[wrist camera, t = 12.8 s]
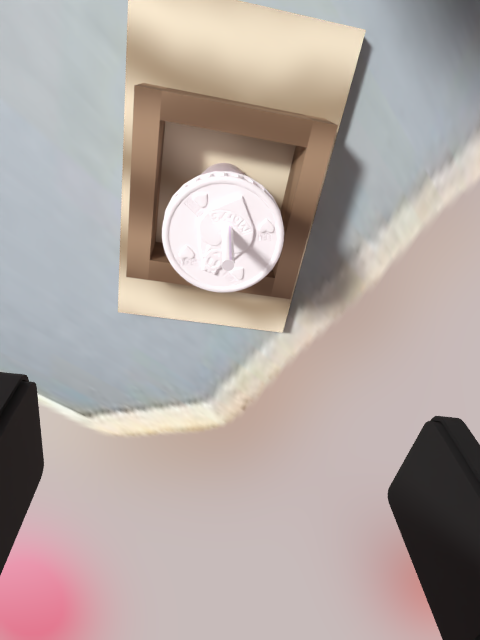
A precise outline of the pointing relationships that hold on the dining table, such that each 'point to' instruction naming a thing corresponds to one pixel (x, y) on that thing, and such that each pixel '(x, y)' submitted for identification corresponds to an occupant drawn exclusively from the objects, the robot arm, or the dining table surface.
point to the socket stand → (226, 138)
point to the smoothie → (222, 230)
